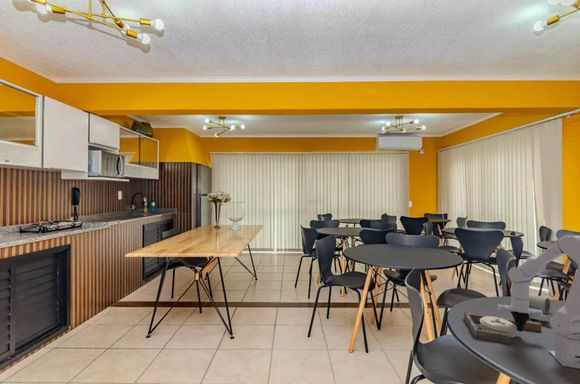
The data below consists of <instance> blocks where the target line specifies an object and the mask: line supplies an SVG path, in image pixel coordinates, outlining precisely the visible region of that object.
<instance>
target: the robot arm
mask: <svg viewBox="0 0 580 384" xmlns="http://www.w3.org/2000/svg"><path fill="white" fill-rule="evenodd" d="M563 255H566V256H567V257H569V258H570V259H571V260H572V261H574V262H575V263H576V264H577V270H576V272H575V275H574V278H573V280H572V283H571V286H570V288H569V290H568V293H567V296H566V298H565V302H564V305H563V306H562V307H560V308H558V310H556V313H555V314H554V315H552V316H553V317H551V319H550V318H549V322H550V325H551V327H550V328H551V329H552V330H553V333H554V350H548V351H549V352H548V353H550V355H552V357H554V359H556V360H557V362H558V363H560V364H561V366H563V367H567V368H573V369H580V235H570V234H569V235H568V234H567V235H563V236H561V237H560V238H559V239H557V240H555V241H554V243H553V244H552V245H550V246H549V247H548V248H547V249H545V250H544V251H543V252H542V253H540V254H539V255H538V256H537V257H536V256H528V257H527V258H525V259H526V260H525V261H523V262H522V263H519V264H518V265H517V267H511V268H510V269H508V272H507V275H508V279H510V280H509V281H511V289H510V290H511V291H510V293H511V294H510V295H511V297H510V301H511V302H510V304H497V309H498V311H500V312H510V313H511V315H512V317H513V318H512V319H514V320H515V323H516V327H517V330H516V331H517V332H523V330H524V329H523V327H524V325H525V323H526V322H527V321H529V318H530V317H531V316H532V315H533V316H538V315H539V317H542V318H544V317H543V314H544V313H543V312H542V311H541V310H537V309H532V308H529V295H530V286H531V283H532V282H533V281H534V279H535V276H537V275H539V274H540V273H542V272H543V271H545V270H546V269H547V264H549V263H551V262H553V261H554V260H555V259H557V258H559V257H561V256H563ZM528 314H531V316H529V315H528Z"/></svg>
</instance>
